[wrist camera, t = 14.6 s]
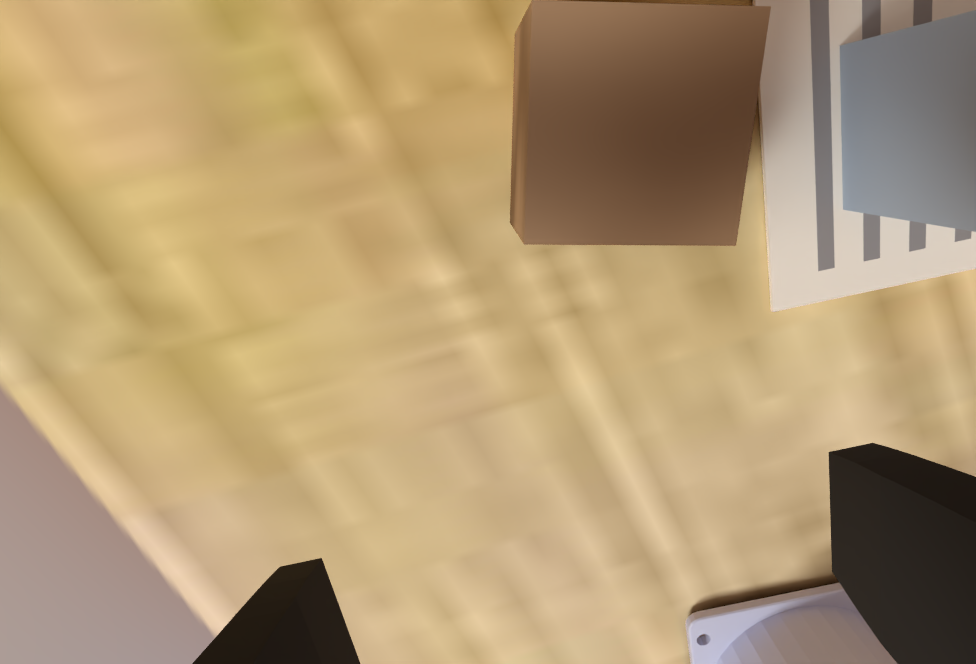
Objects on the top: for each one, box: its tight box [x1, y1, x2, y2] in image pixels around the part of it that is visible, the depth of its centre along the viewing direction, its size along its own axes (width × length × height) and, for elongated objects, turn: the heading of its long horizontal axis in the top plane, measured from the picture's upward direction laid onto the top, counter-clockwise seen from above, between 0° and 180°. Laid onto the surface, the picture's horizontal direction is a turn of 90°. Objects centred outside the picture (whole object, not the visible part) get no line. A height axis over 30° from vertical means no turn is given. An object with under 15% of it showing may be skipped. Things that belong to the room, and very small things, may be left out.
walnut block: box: [510, 0, 771, 246], centre depth 15 cm, size 5×5×4 cm
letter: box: [752, 0, 976, 312], centre depth 16 cm, size 12×9×1 cm
